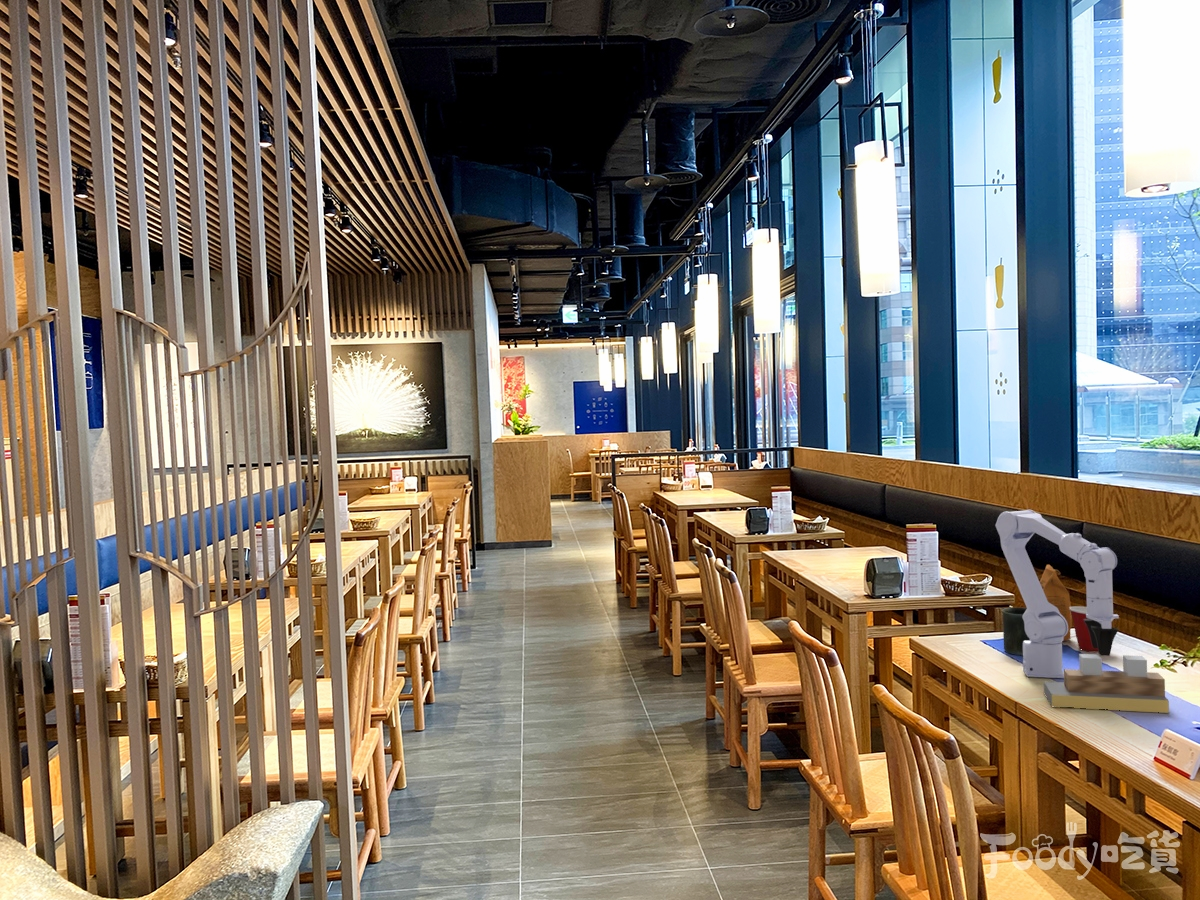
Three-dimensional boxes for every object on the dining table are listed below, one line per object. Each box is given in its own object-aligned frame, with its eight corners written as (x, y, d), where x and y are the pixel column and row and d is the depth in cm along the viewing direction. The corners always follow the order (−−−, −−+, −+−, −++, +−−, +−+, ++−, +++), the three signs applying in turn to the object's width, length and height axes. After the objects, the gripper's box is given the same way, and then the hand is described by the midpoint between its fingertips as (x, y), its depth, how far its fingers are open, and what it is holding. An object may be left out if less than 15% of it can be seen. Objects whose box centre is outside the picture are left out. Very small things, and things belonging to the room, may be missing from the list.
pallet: (1068, 692, 214) (1068, 675, 214) (1064, 685, 219) (1063, 669, 219) (1165, 696, 208) (1164, 679, 208) (1158, 689, 213) (1157, 672, 213)
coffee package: (1066, 633, 283) (1064, 563, 283) (1074, 643, 272) (1072, 570, 271) (1031, 632, 287) (1029, 563, 286) (1037, 641, 275) (1035, 569, 274)
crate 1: (1083, 674, 214) (1082, 658, 214) (1079, 670, 217) (1079, 653, 217) (1102, 675, 212) (1101, 658, 212) (1098, 671, 216) (1097, 654, 216)
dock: (1052, 707, 212) (1051, 694, 212) (1044, 693, 223) (1044, 681, 223) (1169, 713, 205) (1168, 700, 205) (1155, 698, 216) (1154, 686, 216)
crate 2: (1127, 676, 211) (1127, 659, 211) (1123, 672, 215) (1122, 655, 215) (1147, 677, 210) (1146, 660, 210) (1142, 672, 214) (1142, 655, 213)
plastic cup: (1120, 653, 258) (1119, 611, 258) (1082, 654, 258) (1080, 612, 258) (1099, 644, 269) (1098, 604, 268) (1063, 645, 269) (1062, 605, 269)
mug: (1005, 656, 260) (1004, 614, 260) (997, 644, 274) (996, 604, 274) (1047, 657, 257) (1045, 615, 257) (1036, 645, 271) (1035, 605, 271)
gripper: (1124, 603, 216) (1126, 659, 217) (1110, 592, 230) (1112, 645, 231) (1092, 602, 219) (1093, 658, 219) (1080, 591, 232) (1081, 644, 233)
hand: (1101, 651), depth 225 cm, fingers open, 7 cm apart
